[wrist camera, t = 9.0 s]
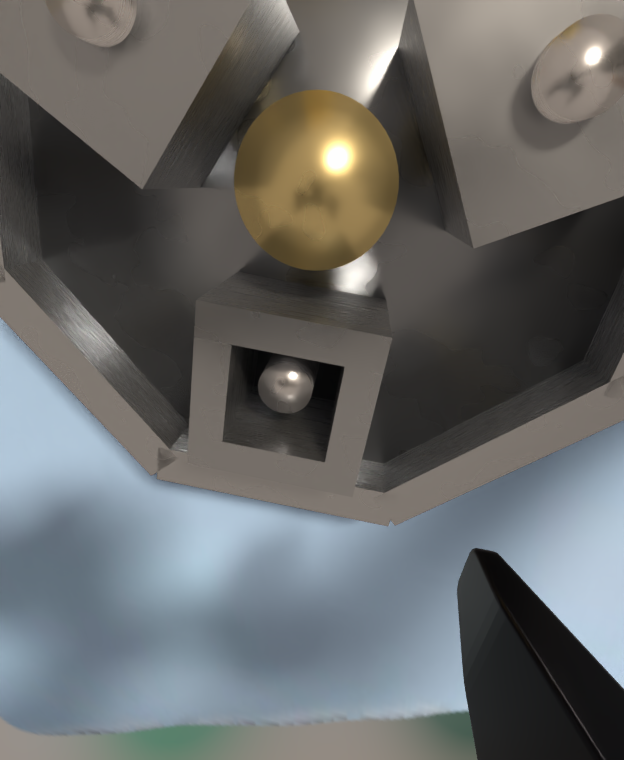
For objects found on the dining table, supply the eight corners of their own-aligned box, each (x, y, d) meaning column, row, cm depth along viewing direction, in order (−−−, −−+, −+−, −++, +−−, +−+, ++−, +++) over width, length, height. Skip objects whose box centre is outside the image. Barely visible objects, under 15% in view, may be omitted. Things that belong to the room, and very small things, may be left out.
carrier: (915, -274, 10) (1564, -814, 4) (542, 514, 19) (609, 643, 14) (-51, -398, 11) (-465, -974, 5) (38, 413, 20) (-84, 497, 14)
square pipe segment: (386, 299, 15) (392, 337, 11) (355, 429, 17) (352, 497, 13) (238, 271, 15) (195, 300, 11) (225, 403, 17) (187, 463, 13)
